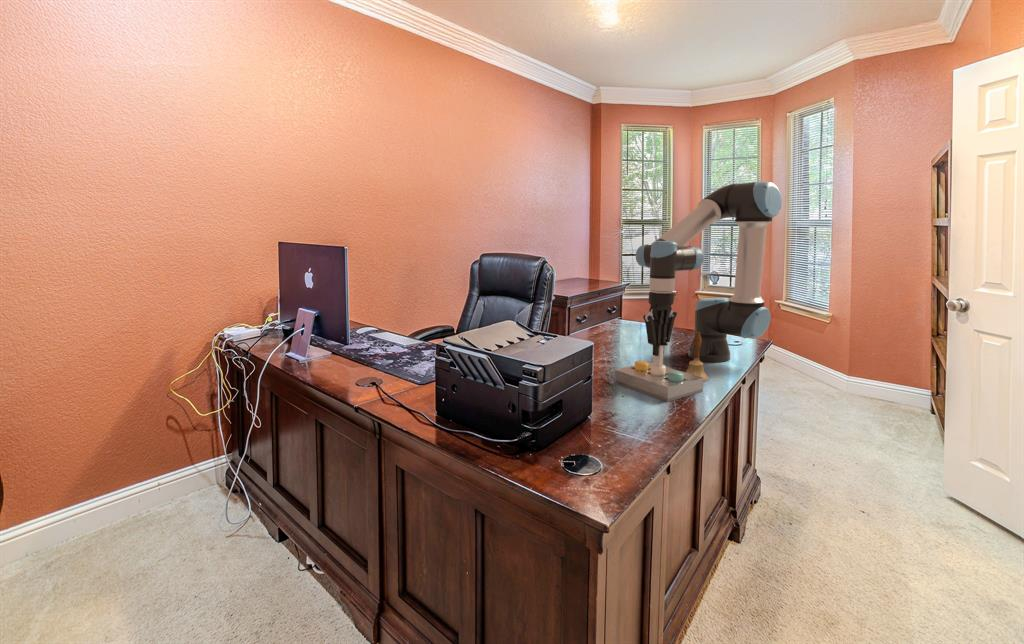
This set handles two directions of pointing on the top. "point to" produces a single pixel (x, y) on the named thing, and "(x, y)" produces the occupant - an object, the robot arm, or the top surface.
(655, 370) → the ivory button
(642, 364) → the amber button
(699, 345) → the hand bell
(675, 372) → the teal button
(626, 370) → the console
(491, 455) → the top surface
